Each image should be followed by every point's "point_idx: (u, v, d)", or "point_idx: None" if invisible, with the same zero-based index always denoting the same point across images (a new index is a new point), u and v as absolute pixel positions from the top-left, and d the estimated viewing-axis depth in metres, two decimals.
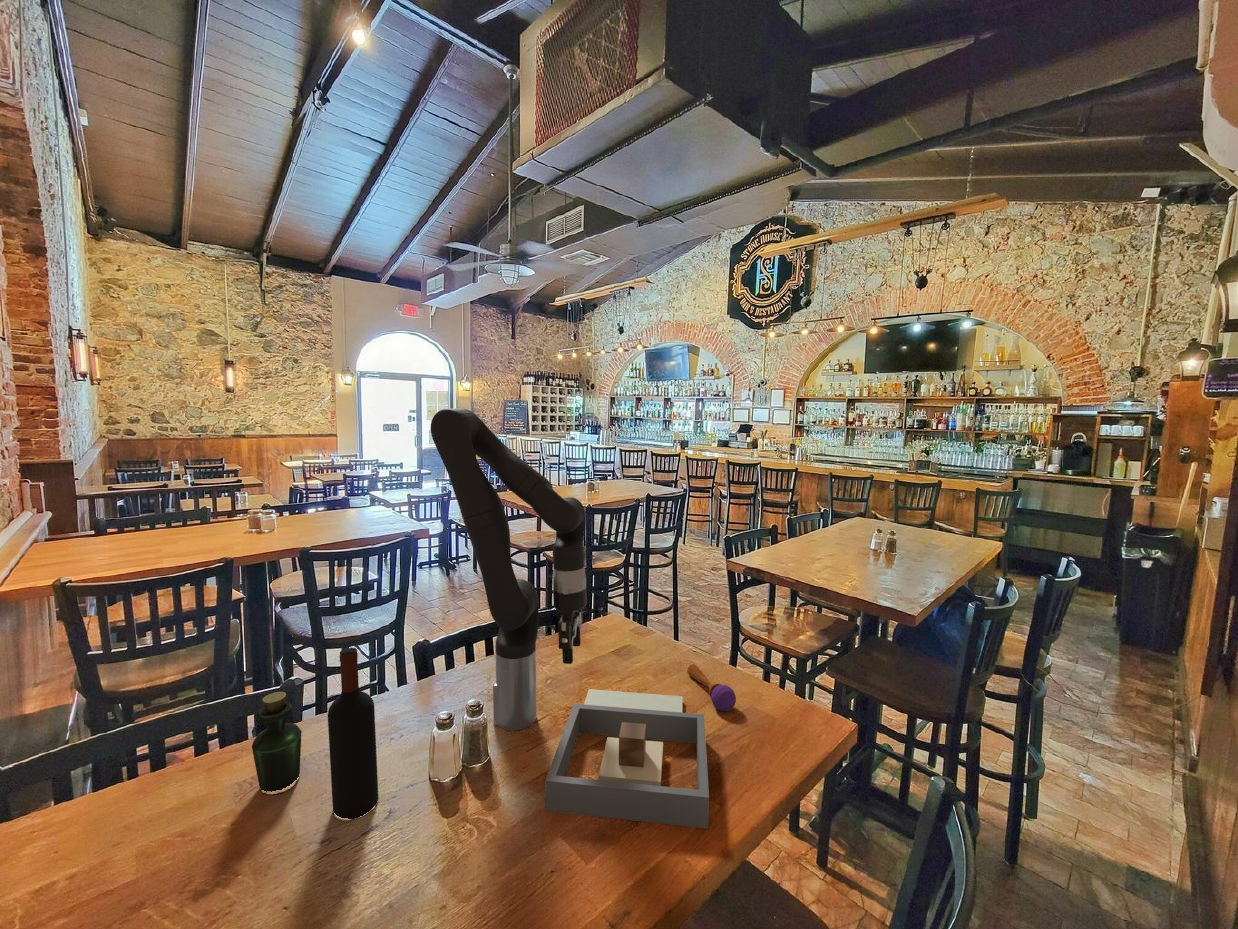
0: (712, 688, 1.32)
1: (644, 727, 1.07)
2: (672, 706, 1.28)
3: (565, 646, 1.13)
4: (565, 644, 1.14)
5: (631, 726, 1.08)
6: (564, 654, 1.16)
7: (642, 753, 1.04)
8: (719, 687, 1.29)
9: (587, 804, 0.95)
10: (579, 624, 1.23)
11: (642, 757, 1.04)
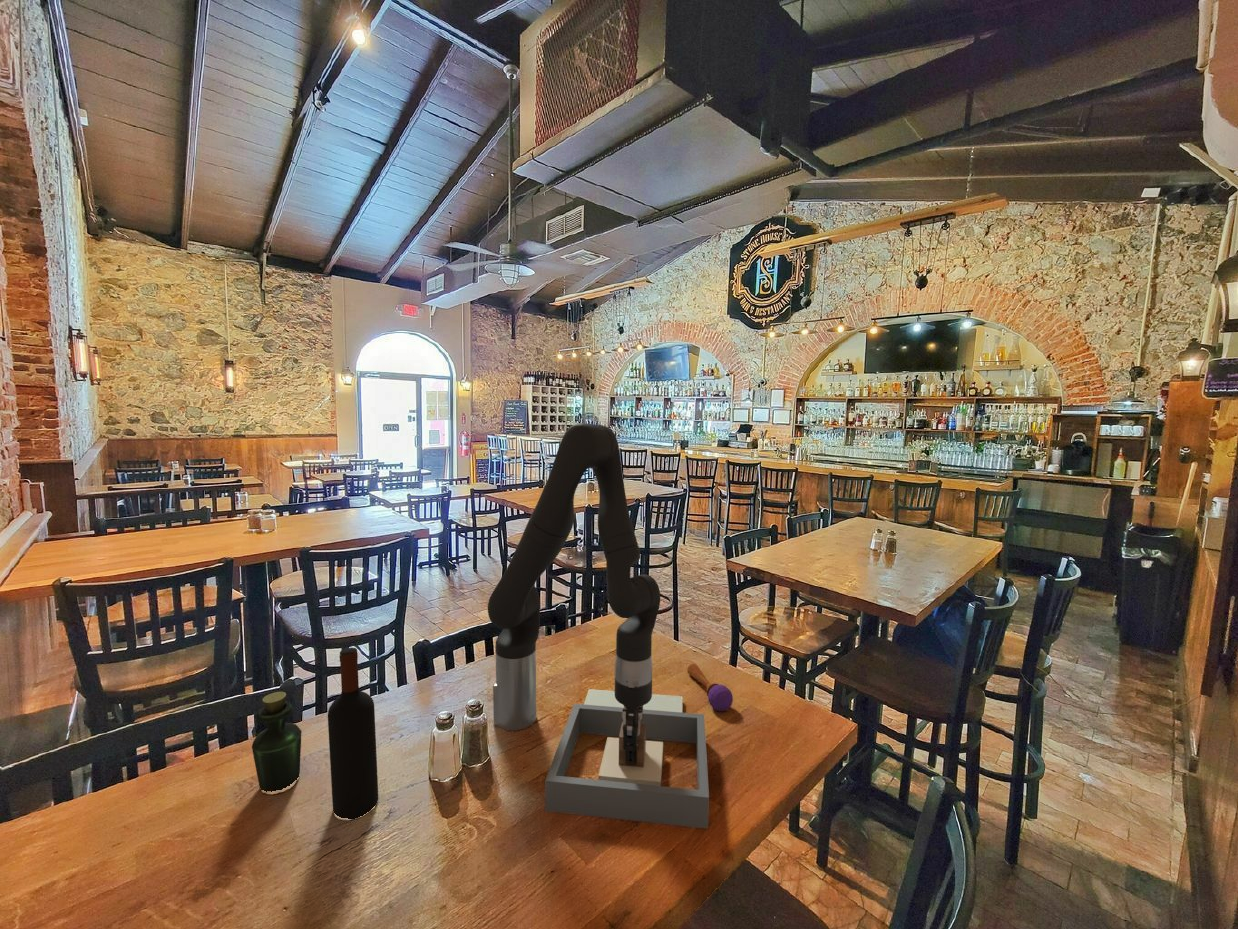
0: (709, 688, 1.32)
1: (644, 727, 1.07)
2: (672, 706, 1.28)
3: (631, 749, 1.01)
4: (631, 745, 1.01)
5: None
6: (628, 755, 1.03)
7: (642, 753, 1.04)
8: (716, 687, 1.30)
9: (587, 804, 0.95)
10: None
11: (642, 757, 1.04)
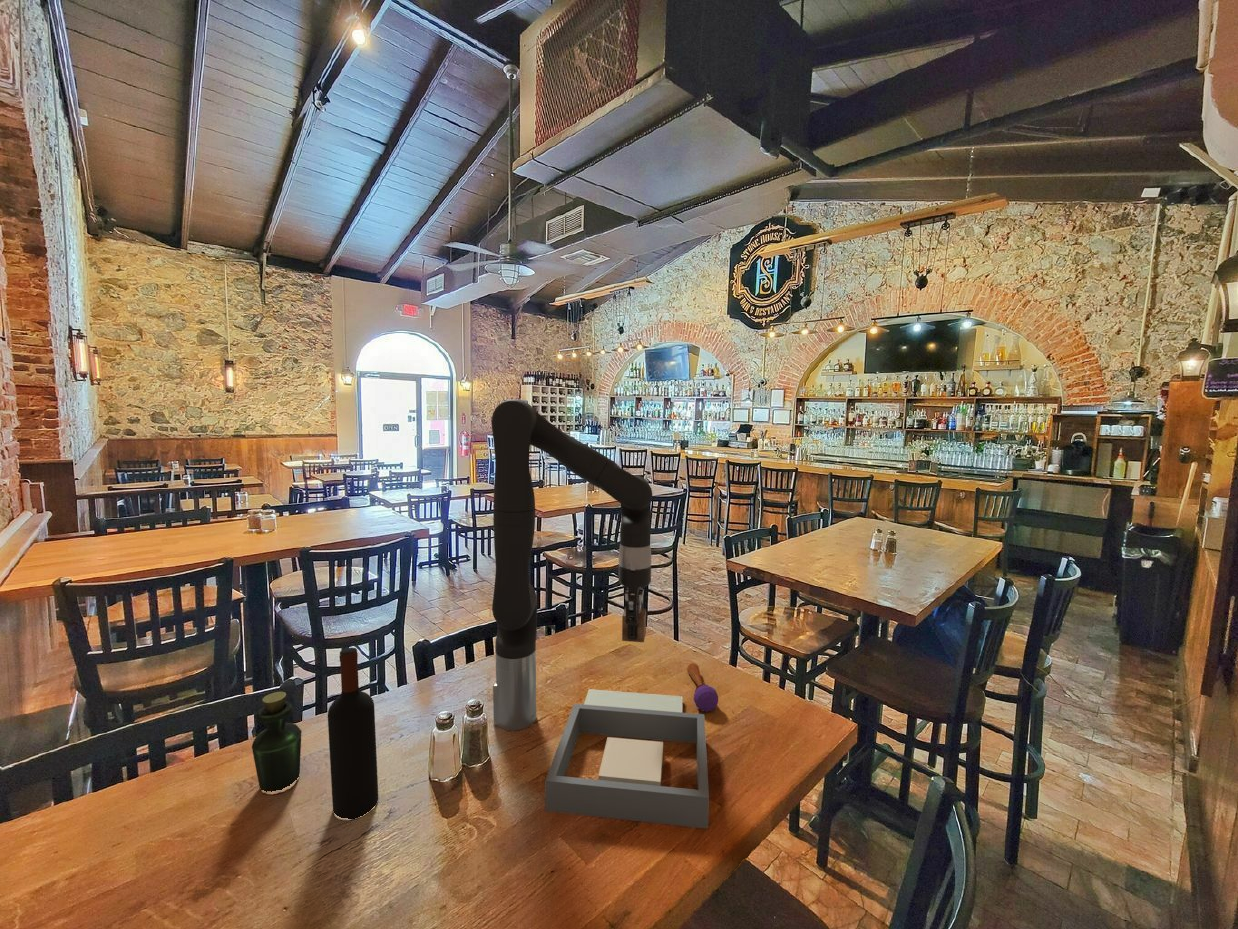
0: (698, 687, 1.33)
1: (644, 610, 1.23)
2: (672, 706, 1.28)
3: (632, 622, 1.17)
4: (632, 620, 1.17)
5: None
6: (630, 629, 1.19)
7: (642, 629, 1.20)
8: (702, 687, 1.30)
9: (587, 804, 0.95)
10: (641, 604, 1.24)
11: (642, 633, 1.20)
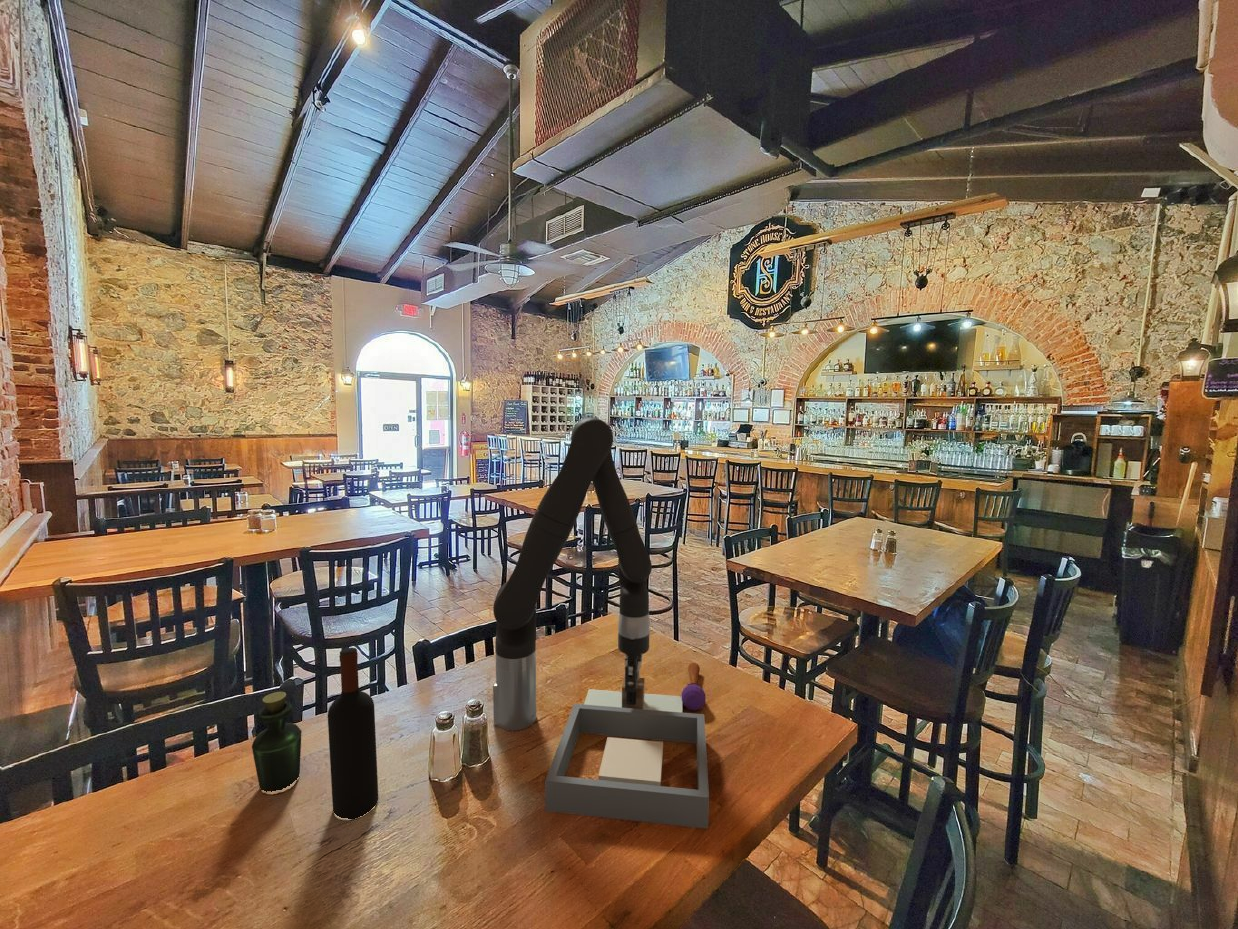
0: (688, 686, 1.33)
1: (643, 680, 1.28)
2: (672, 706, 1.28)
3: (631, 689, 1.20)
4: (631, 687, 1.20)
5: None
6: (628, 696, 1.22)
7: (641, 700, 1.25)
8: (689, 685, 1.30)
9: (587, 804, 0.95)
10: None
11: (641, 704, 1.25)
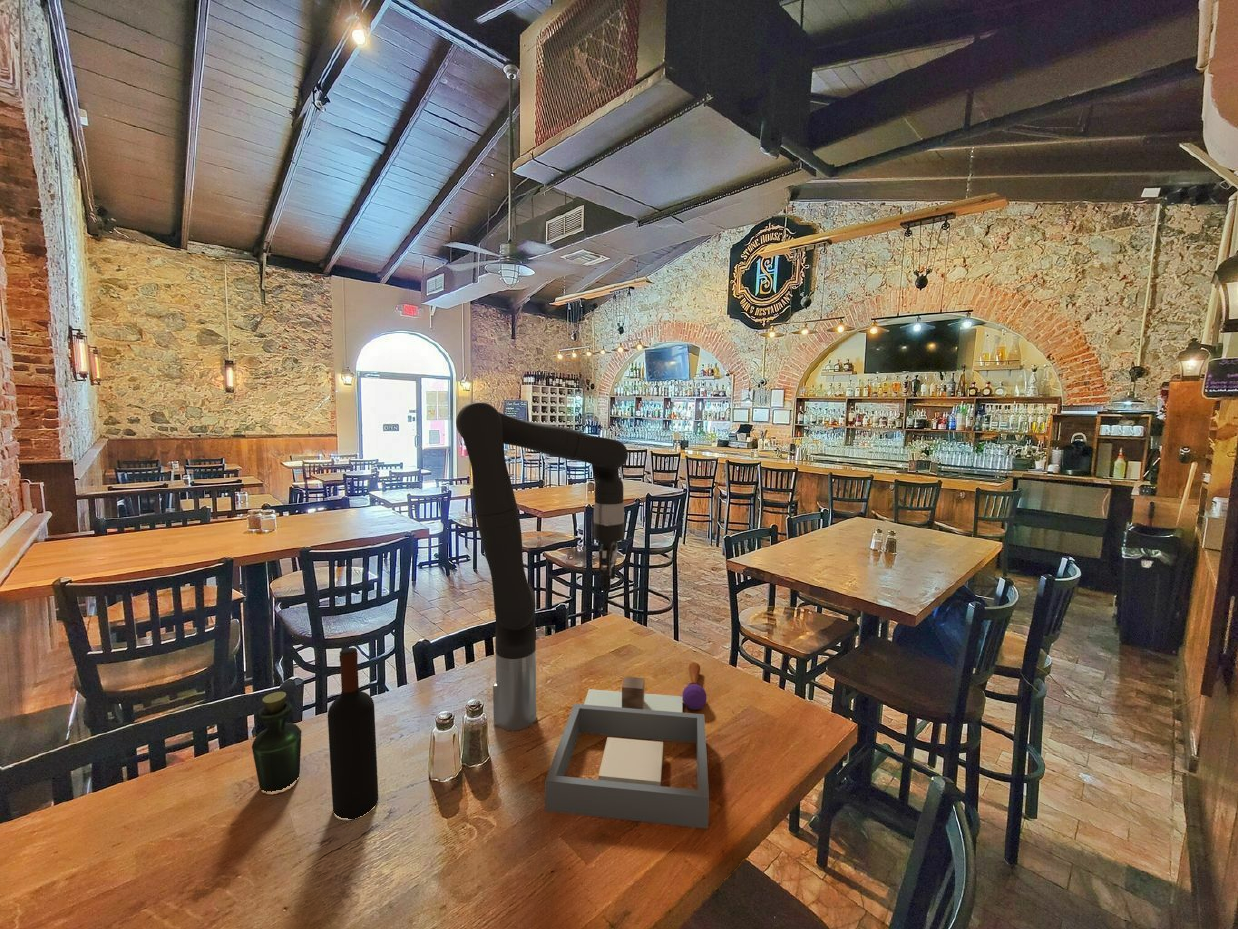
0: None
1: (643, 680, 1.28)
2: (672, 706, 1.28)
3: (605, 572, 1.23)
4: (605, 571, 1.23)
5: (632, 679, 1.29)
6: (603, 581, 1.25)
7: (641, 700, 1.25)
8: (690, 685, 1.30)
9: (587, 804, 0.95)
10: (615, 557, 1.32)
11: (641, 704, 1.25)
